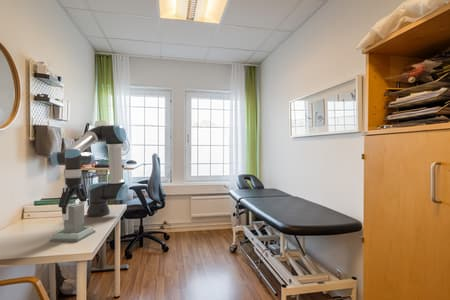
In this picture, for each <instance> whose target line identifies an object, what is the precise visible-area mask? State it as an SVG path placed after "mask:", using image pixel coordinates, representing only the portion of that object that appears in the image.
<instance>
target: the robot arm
mask: <svg viewBox="0 0 450 300" xmlns="http://www.w3.org/2000/svg"><path fill="white" fill-rule="evenodd" d="M126 140H127V132H126V129H125V127H123V126H122V125H118V124H117V125H116V124H115V125H112V124H111V125H108V124H107V125H97V126H94V127H92V128H91V129H89V130H88V131H85V133H84V134H83V135H82V137H80V138H79V139H77V140H76V141H74V142H73V143H71V144H70V145H69V146H67V147H66V148H64V149H63V150H61V151H56V152H55V151H54V152H53V153H51V155H50V162H51V164H52V165H54V166H64V170H65V171H64V172H65V173H64V174H65V179H64V180H65V185H66V186H67V187H63V188H62V192H61V197H60V199H59V203H58V208H61V216H62V221H64V220H68V207H67V206H69V204H70V201H71V199H72V197H74V195H75V196H77V198H78V200H79V201H78V205H80V204H84V207H86V205H85V202H87V199H88V198H89V203H88V204H89V206H88V207H87V211H86V216H87V217H91V218H97V217H103V216H107V215H110V213H111V210H110V208H109V204H108V201H123V200H125V199H126V198H127V196H128V194H129V185H128V183H126V181H125V180H124V178H123V162H122V161H123V158H122V156H123V155H122V146H123V145H124V142H125V141H126ZM103 142H104V143H105V145H106V146H107V147H108V148H107V149H108V170H109V174H108V175H109V180H108V181H102V182H94V183H91V184H89V188H88V191H89V194H88V196H87V193H86V192H85V187H84V184H82V166H88V165H91V164H93V163H94V161H95V155H94V154H93V152H91V151H86V150H87V149H88V148H89V147H90V146H92V145H95V144H97V143H103ZM84 214H85V210H84Z"/></svg>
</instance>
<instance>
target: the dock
mask: <svg viewBox="0 0 450 300" xmlns="http://www.w3.org/2000/svg"><path fill="white" fill-rule="evenodd" d="M95 233H96V229H95V230H94V226H85V230H84V231H82V232H80V233H78V234H75V233H64V228H63V229H60V230H58V231H55V232H54V233H52V238H50V239H49V242H55V243H57V242H58V243H60V242H61V243H79V242H81V241H82V240H84V239H86V238H87V237H90V236H91V235H94V234H95Z"/></svg>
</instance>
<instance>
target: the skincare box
mask: <svg viewBox="0 0 450 300" xmlns="http://www.w3.org/2000/svg"><path fill="white" fill-rule="evenodd" d="M84 205H85V203H84V204H80V205H79V204H70V205H67V207H68V220H63V229H64V233H75V234H78V233H80V232H82V231H84V230H85V227H86V226H85V213H84V211H85V206H84Z"/></svg>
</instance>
